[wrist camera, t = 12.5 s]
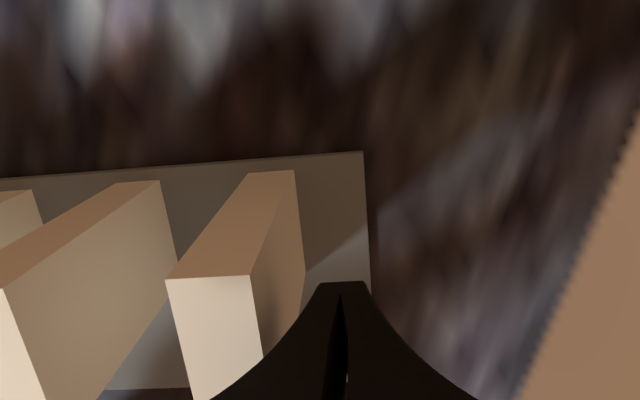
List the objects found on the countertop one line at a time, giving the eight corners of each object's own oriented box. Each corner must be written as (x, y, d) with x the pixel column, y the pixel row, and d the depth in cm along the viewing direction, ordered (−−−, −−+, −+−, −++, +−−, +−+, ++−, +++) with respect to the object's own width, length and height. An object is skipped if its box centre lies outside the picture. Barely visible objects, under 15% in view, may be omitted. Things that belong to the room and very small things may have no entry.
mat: (376, 374, 22) (376, 381, 21) (-189, 393, 25) (-199, 400, 24) (362, 150, 18) (363, 152, 18) (-307, 202, 21) (-322, 205, 20)
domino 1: (159, 179, 18) (2, 288, 10) (181, 279, 20) (63, 445, 12) (116, 182, 19) (-75, 292, 10) (141, 281, 20) (-4, 446, 12)
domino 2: (293, 169, 18) (249, 274, 9) (305, 272, 20) (276, 440, 11) (248, 173, 18) (164, 279, 10) (263, 274, 20) (203, 442, 11)
